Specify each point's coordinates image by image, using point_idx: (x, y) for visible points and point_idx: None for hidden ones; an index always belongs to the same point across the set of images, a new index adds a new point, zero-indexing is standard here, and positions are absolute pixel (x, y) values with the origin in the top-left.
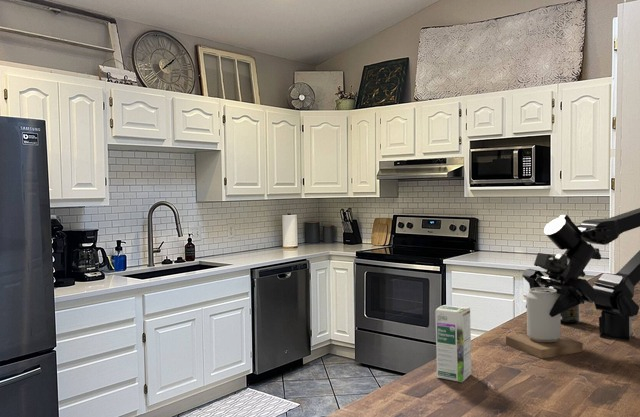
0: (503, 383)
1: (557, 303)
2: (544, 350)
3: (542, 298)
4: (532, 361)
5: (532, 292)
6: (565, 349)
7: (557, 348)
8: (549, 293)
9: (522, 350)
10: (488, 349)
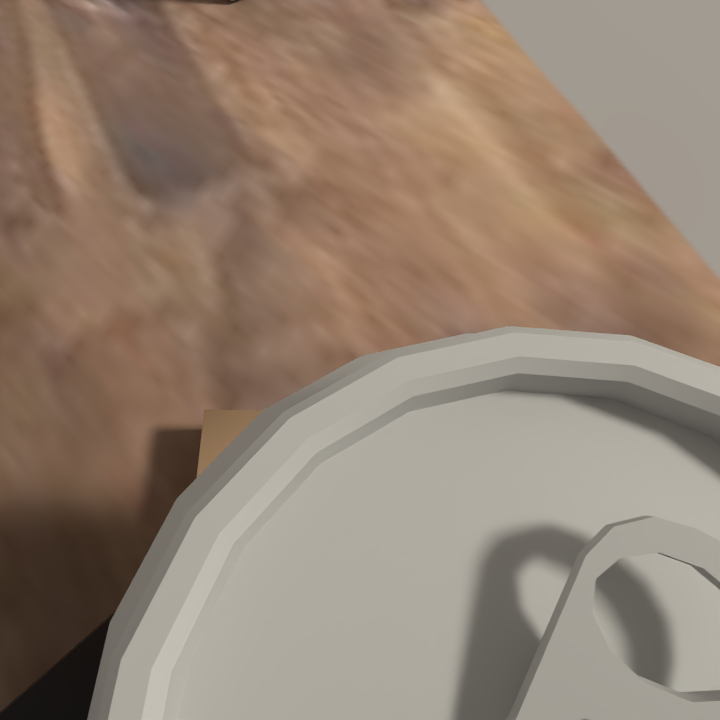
0: (72, 48)
1: (30, 716)
2: (201, 438)
3: (249, 446)
4: (216, 345)
5: (546, 352)
6: None
7: None
8: (124, 638)
9: None
10: (529, 266)
